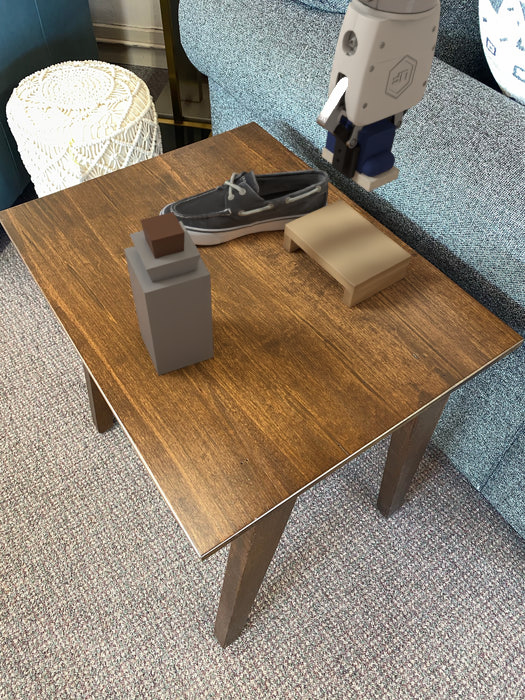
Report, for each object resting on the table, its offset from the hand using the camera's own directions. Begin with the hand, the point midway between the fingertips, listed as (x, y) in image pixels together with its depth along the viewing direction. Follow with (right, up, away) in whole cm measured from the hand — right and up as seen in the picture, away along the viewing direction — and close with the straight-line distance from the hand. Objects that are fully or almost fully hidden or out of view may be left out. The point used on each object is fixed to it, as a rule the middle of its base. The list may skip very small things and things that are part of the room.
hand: (360, 163), depth 64 cm
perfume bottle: (-21, -21, +3) cm, 30 cm away
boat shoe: (-14, -3, +18) cm, 23 cm away
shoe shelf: (0, -9, +13) cm, 16 cm away
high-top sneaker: (0, 0, 0) cm, 1 cm away
